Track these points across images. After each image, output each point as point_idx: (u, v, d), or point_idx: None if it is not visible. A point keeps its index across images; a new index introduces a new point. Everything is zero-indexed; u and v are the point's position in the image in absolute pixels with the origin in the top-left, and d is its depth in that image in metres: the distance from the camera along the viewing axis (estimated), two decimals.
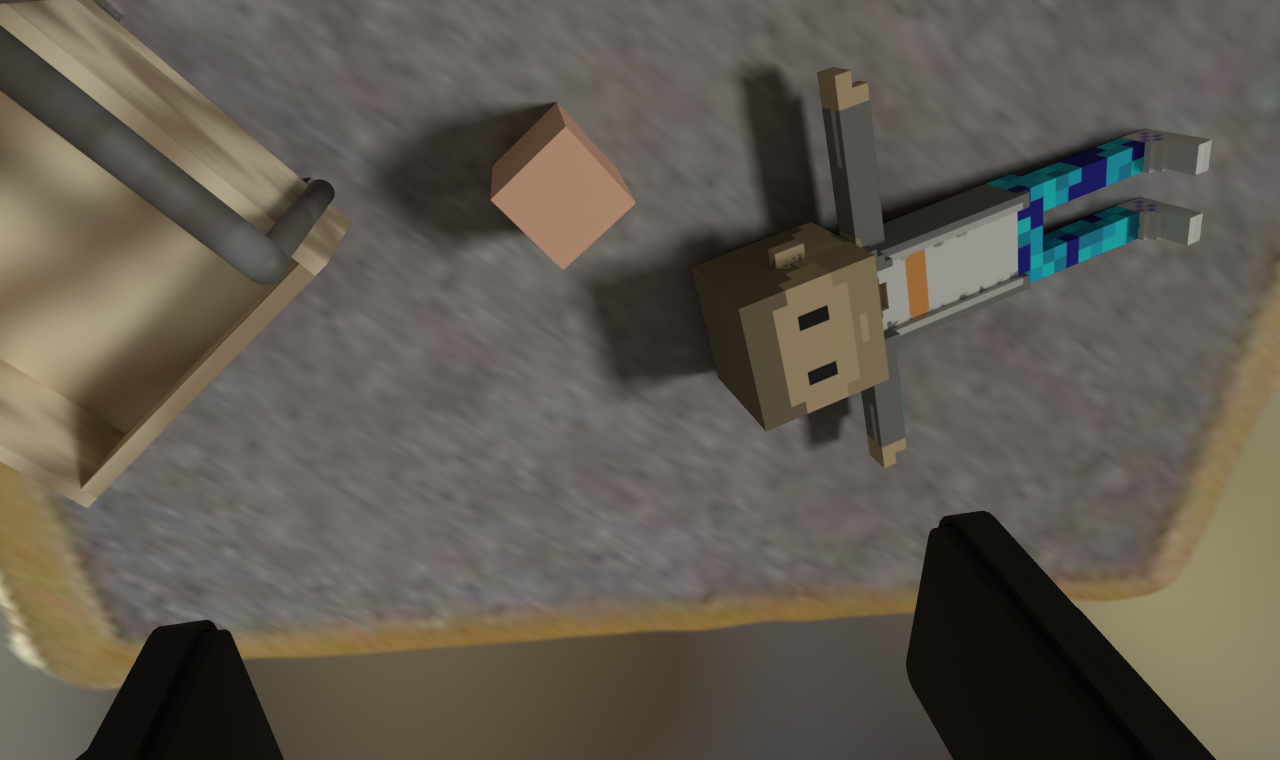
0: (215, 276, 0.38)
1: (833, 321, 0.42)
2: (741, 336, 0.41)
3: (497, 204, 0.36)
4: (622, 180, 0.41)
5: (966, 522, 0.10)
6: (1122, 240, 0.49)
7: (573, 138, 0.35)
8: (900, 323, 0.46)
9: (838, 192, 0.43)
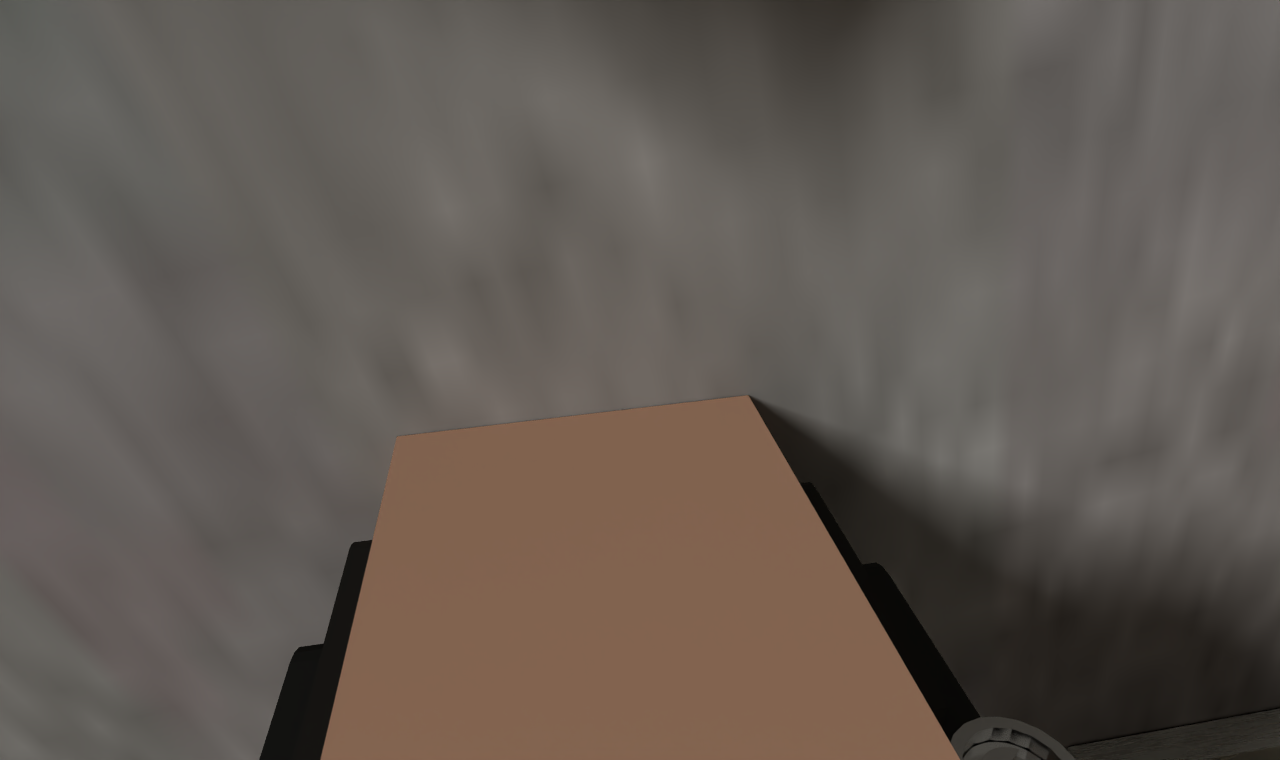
0: None
1: None
2: None
3: None
4: None
5: None
6: None
7: None
8: None
9: None
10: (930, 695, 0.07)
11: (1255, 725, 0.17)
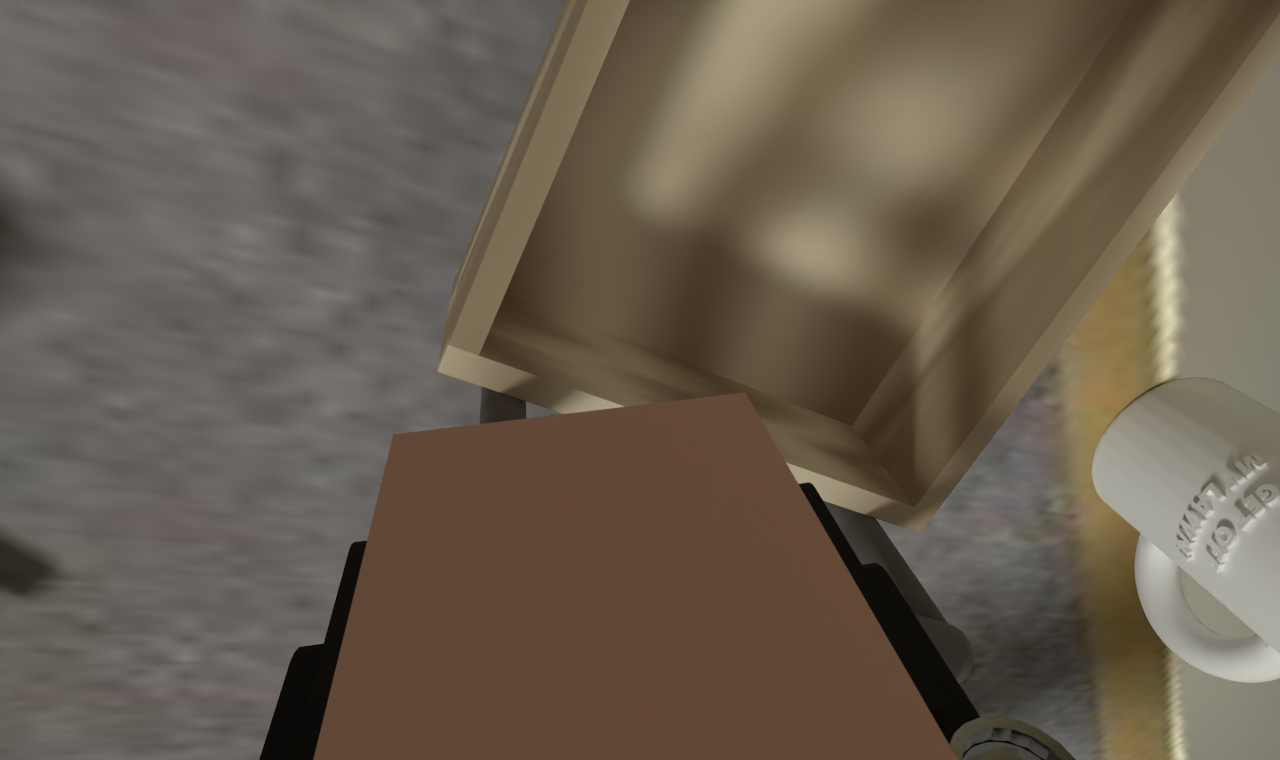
0: (618, 144, 0.22)
1: None
2: None
3: None
4: None
5: None
6: None
7: None
8: None
9: None
10: (930, 695, 0.07)
11: None
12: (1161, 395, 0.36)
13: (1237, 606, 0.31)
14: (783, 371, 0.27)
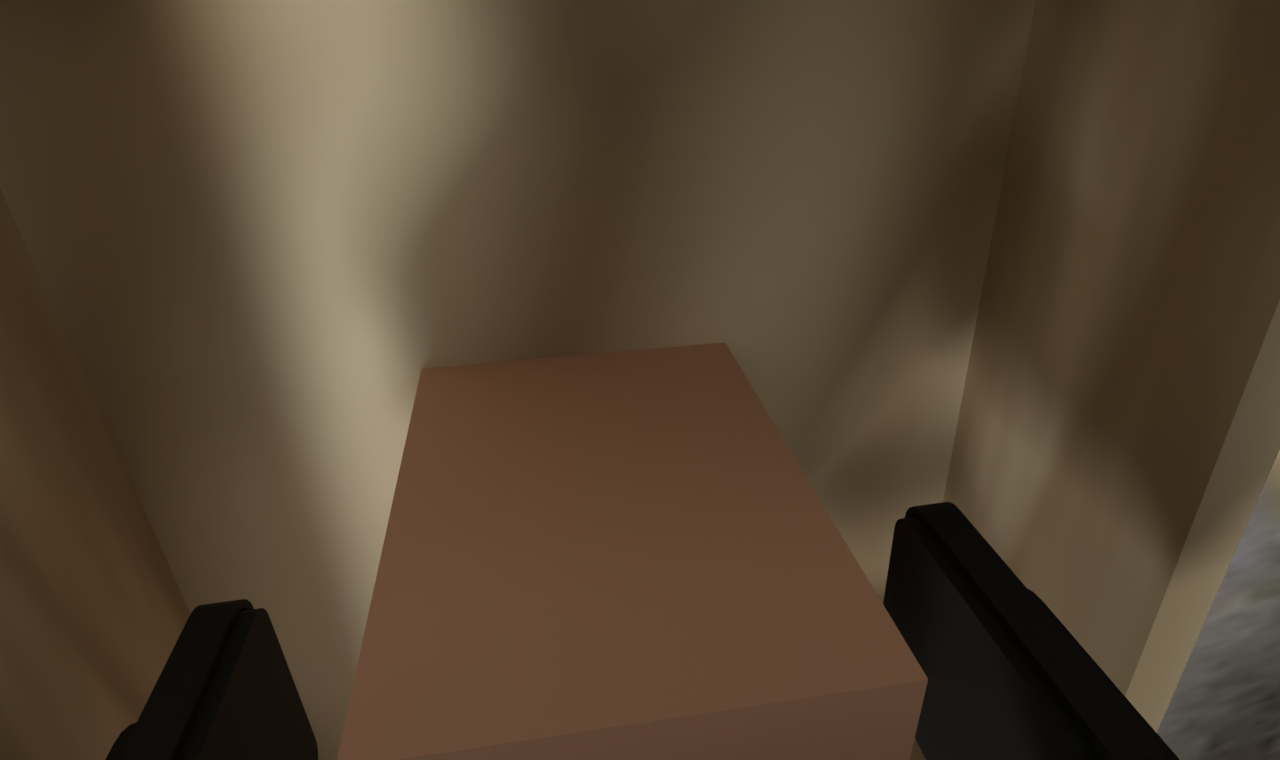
0: (317, 626, 0.14)
1: None
2: None
3: None
4: None
5: (930, 513, 0.10)
6: None
7: None
8: None
9: None
10: (1145, 740, 0.07)
11: None
12: None
13: None
14: None
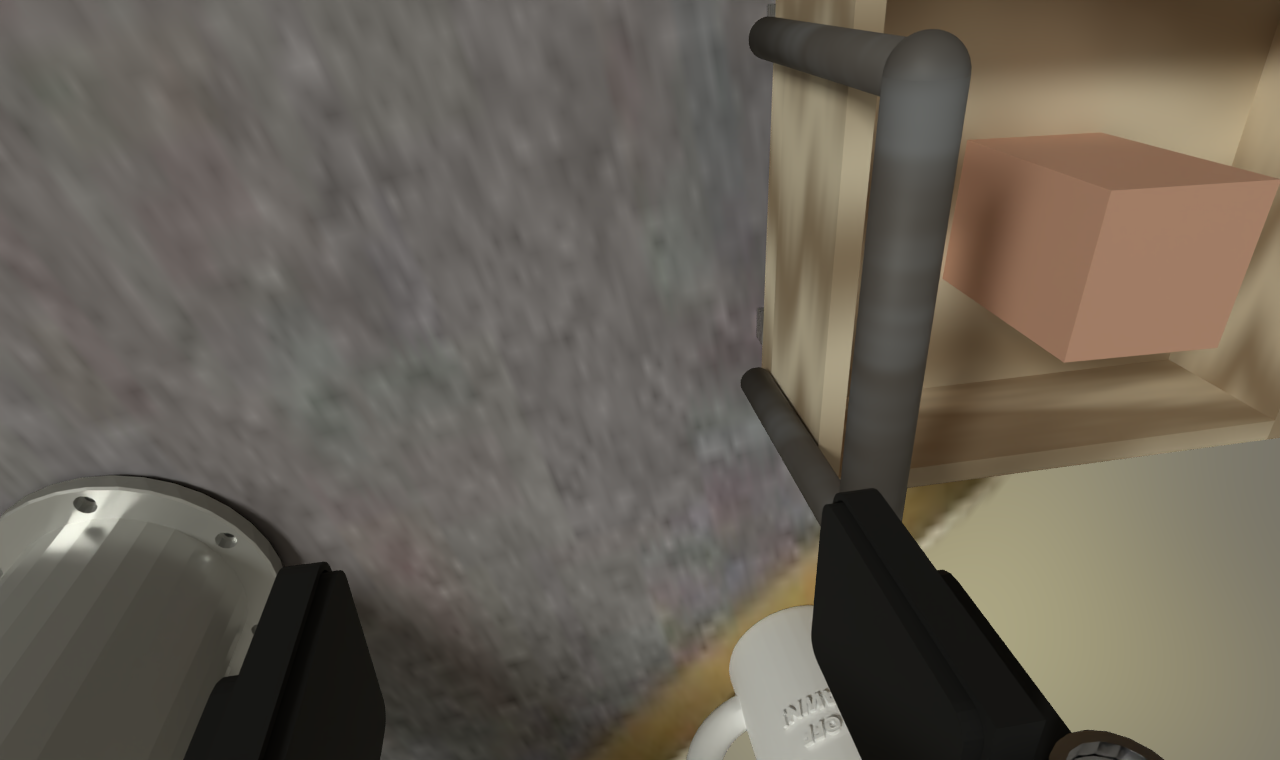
0: (977, 53, 0.24)
1: None
2: None
3: (1076, 359, 0.22)
4: (1162, 150, 0.24)
5: (854, 498, 0.10)
6: None
7: (1132, 194, 0.20)
8: None
9: None
10: (1027, 709, 0.07)
11: None
12: None
13: None
14: None
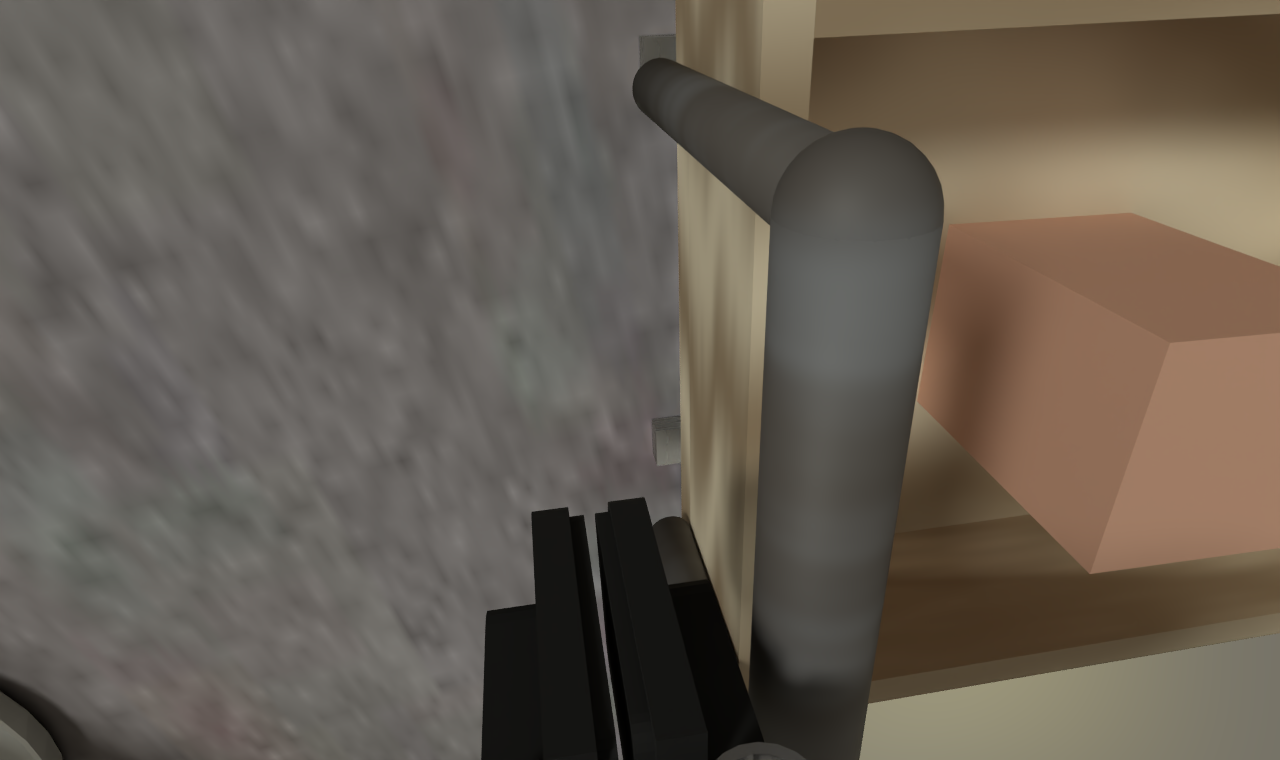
0: (962, 108, 0.17)
1: None
2: None
3: (1108, 569, 0.15)
4: (1224, 249, 0.17)
5: (618, 508, 0.10)
6: None
7: (1201, 347, 0.13)
8: None
9: None
10: (694, 721, 0.07)
11: None
12: None
13: None
14: None
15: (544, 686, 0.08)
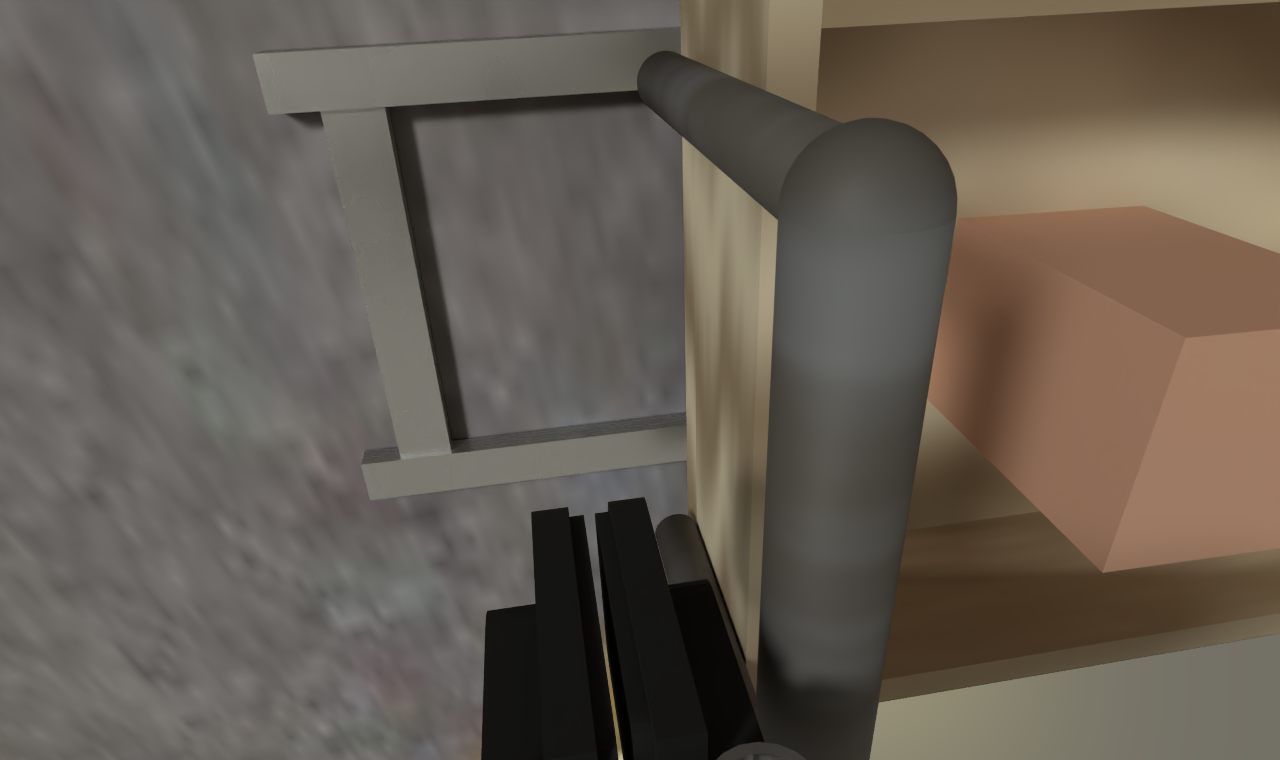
0: (971, 100, 0.17)
1: None
2: None
3: (1121, 567, 0.15)
4: (1239, 242, 0.16)
5: (618, 508, 0.10)
6: None
7: (1218, 341, 0.12)
8: None
9: None
10: (694, 721, 0.07)
11: (437, 41, 0.19)
12: None
13: None
14: None
15: (544, 686, 0.08)
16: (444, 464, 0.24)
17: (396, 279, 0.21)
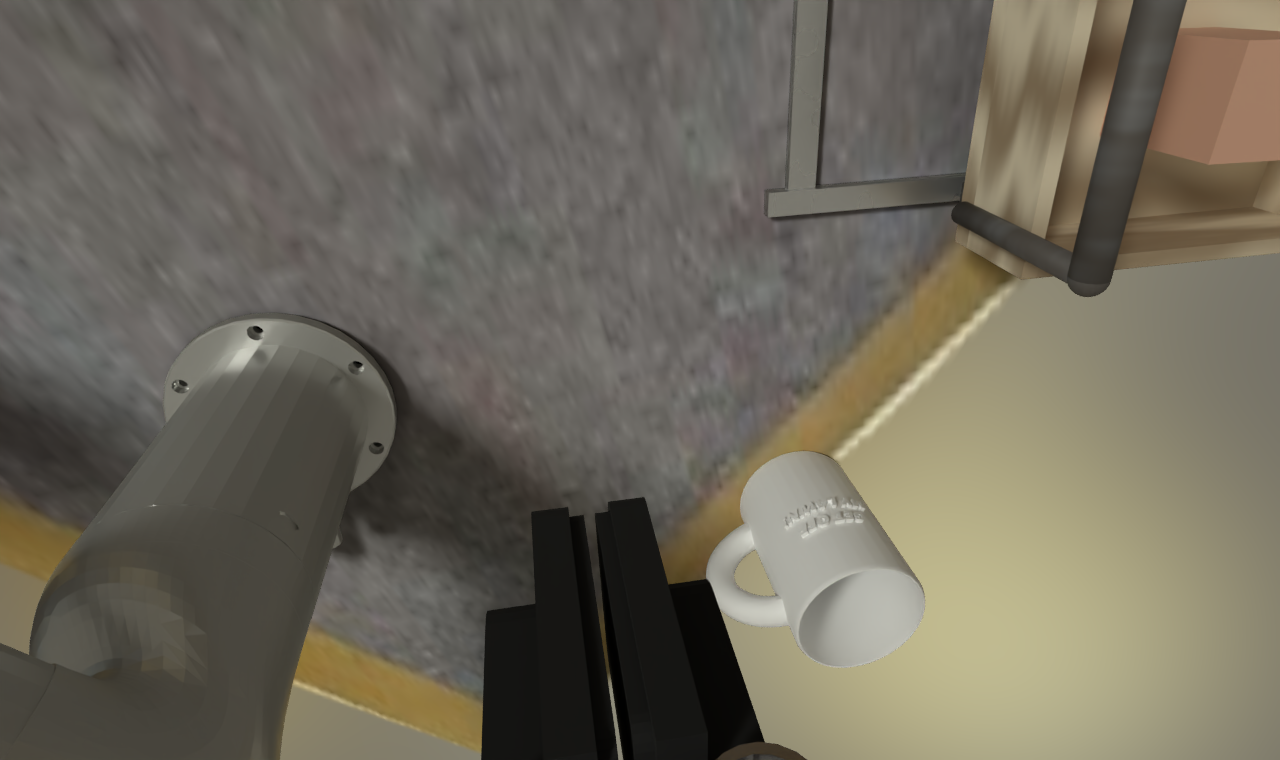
0: None
1: None
2: None
3: (1217, 162, 0.33)
4: (1267, 30, 0.35)
5: (618, 508, 0.10)
6: None
7: (1262, 43, 0.31)
8: None
9: None
10: (694, 721, 0.07)
11: None
12: (830, 460, 0.52)
13: (792, 560, 0.45)
14: None
15: (544, 686, 0.08)
16: (811, 195, 0.43)
17: (812, 78, 0.40)
